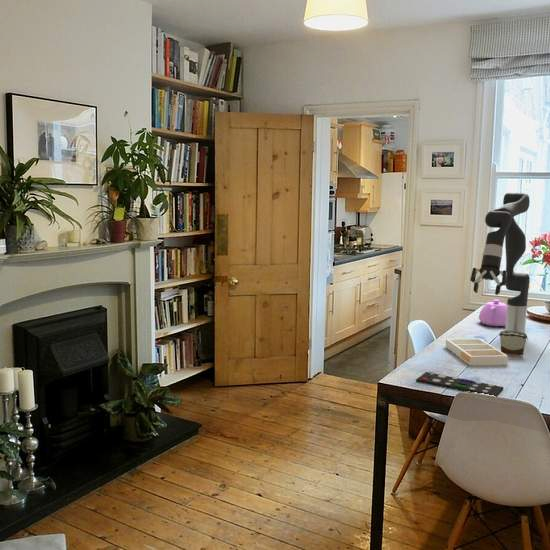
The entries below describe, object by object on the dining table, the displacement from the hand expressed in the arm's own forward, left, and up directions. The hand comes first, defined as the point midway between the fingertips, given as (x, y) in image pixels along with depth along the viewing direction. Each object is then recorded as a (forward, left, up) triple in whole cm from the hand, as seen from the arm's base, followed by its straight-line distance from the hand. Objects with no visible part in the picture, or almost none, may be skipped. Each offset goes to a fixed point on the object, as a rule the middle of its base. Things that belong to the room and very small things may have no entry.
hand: (486, 293), depth 252 cm
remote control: (+24, -20, -32) cm, 45 cm away
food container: (-17, +22, -32) cm, 42 cm away
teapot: (-71, +41, -32) cm, 88 cm away
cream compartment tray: (-14, +3, -31) cm, 35 cm away
